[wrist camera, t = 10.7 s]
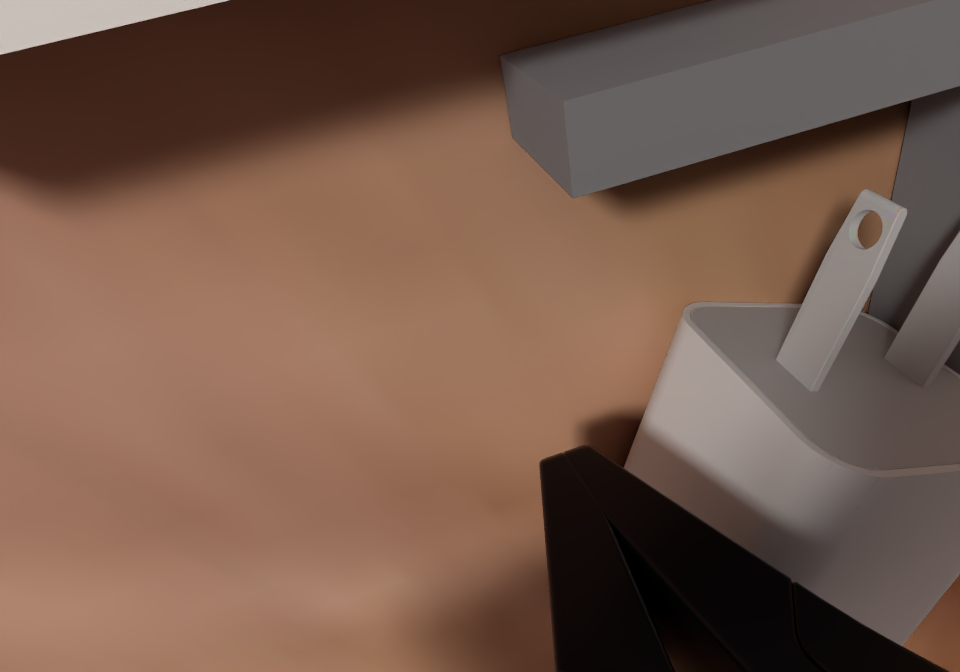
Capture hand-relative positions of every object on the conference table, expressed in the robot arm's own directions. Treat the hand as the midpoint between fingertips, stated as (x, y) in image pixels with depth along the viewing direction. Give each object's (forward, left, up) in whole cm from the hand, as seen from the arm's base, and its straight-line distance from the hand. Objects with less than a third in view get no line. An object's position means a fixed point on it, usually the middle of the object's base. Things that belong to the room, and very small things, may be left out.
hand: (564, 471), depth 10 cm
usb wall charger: (0, -4, -2) cm, 4 cm away
